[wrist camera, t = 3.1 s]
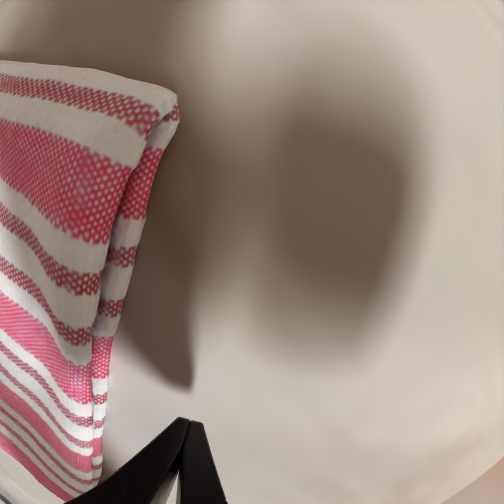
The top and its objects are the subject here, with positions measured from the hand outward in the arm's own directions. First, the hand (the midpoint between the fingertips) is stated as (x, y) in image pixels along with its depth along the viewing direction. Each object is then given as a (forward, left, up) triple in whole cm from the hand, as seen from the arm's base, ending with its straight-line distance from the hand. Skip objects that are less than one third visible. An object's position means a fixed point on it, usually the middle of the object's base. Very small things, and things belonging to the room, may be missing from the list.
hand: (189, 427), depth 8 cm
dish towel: (0, +12, -2) cm, 12 cm away
